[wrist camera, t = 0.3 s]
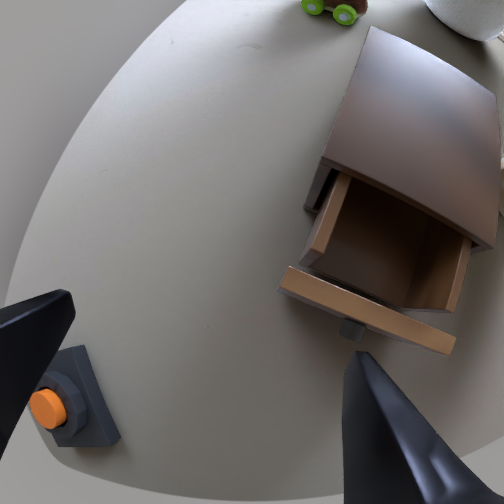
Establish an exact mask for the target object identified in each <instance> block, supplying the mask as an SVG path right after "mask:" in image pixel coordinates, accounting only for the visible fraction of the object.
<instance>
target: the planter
mask: <svg viewBox="0 0 504 504" xmlns="http://www.w3.org/2000/svg"><path fill="white" fill-rule="evenodd" d="M424 1H425V3H426V4H427V6H428V7H429V9H430V10H431V11H432V12H433V14H434V15H435V16H436V17H437V18H438V19H439V20H441V21H442V22H443V23H444V24H446V25H447V26H448V27H450V28H451V29H453V30H454V31H456V32H458V33H459V34H461V35H463V36H465V37H468V38H470V39H474V40H479V41H490V40H493V39H495V38H496V37H498V36H499V35H500V34H501V33H502V32H503V31H504V0H424Z"/></svg>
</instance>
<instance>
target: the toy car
mask: <svg viewBox="0 0 504 504" xmlns="http://www.w3.org/2000/svg"><path fill="white" fill-rule="evenodd" d="M301 6H302V8H303V10H304V11H305V12H307V13H309V14H311V15H318V14H320V13H321V12H322V11H323V10H324V9H325V10H328V11H331V12H333V17H334V19H335V20H336V21H337V22H338V23H340V24H342V25H350V24H352V23H353V22H354V21H355V19H356V18H357V17H360V16H363V15H364V14H365V13H366V11H367V8H368V2H367V0H302V2H301Z"/></svg>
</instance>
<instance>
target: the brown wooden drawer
mask: <svg viewBox="0 0 504 504" xmlns="http://www.w3.org/2000/svg"><path fill="white" fill-rule="evenodd" d="M471 245H472V240H471V239H469V238H468V237H466V236H464V235H463V234H461V233H459V232H458V231H456V230H454V229H453V228H451V227H449V226H448V225H446V224H444V223H443V222H441V221H439V220H437V219H436V218H434V217H432V216H430V215H428V214H427V213H425V212H423V211H421V210H419V209H417V208H416V207H414V206H412V205H410V204H408V203H406V202H404V201H402V200H400V199H398V198H396V197H394V196H392V195H390V194H388V193H386V192H384V191H382V190H380V189H378V188H376V187H374V186H372V185H370V184H368V183H365V182H363V181H361V180H359V179H357V178H354V177H352V176H350V175H348V174H346V173H343V172H341V171H339V170H336V169H335V170H334V173H333V175H332V178H331V181H330V183H329V186H328V189H327V191H326V194H325V197H324V199H323V202H322V204H321V207H320V209H319V212H318V215H317V217H316V220H315V222H314V225H313V227H312V230H311V232H310V235H309V237H308V239H307V242H306V244H305V247H304V249H303V252H302V254H301V257H300V259H299V261H298V264H299V265H301V266H304V267H306V268H308V269H311V270H313V271H315V272H318V273H320V274H322V275H325V276H327V277H329V278H332V279H334V280H336V281H339V282H341V283H343V284H345V285H348V286H350V287H352V288H355V289H357V290H359V291H362V292H364V293H366V294H369V295H371V296H373V297H375V298H378V299H380V300H382V301H385V302H387V303H389V304H392V305H394V306H396V307H398V308H401V309H403V310H406V311H419V312H436V313H455V309H456V306H457V303H458V299H459V296H460V292H461V289H462V285H463V281H464V277H465V273H466V269H467V264H468V260H469V255H470V250H471ZM276 290H277V291H279V292H281V293H283V294H286V295H288V296H290V297H293V298H295V299H297V300H300V301H302V302H304V303H307V304H309V305H312V306H314V307H316V308H319V309H321V310H324V311H326V312H328V313H331V314H333V315H336V316H338V317H340V318H343V319H344V321H343V324H342V326H341V328H340V331H339V333H338V334H339V335H340V336H343V337H345V338H347V339H350V340H352V341H355V342H358V343H359V342H360V341H361V339H362V336H363V334H364V332H365V329H366V328H367V329H370V330H372V331H375V332H377V333H380V334H382V335H385V336H387V337H390V338H392V339H395V340H398V341H400V342H403V343H407V344H410V345H413V346H416V347H420V348H423V349H426V350H430V351H433V352H436V353H440V354H443V355H447V356H450V354H451V352H452V349H453V346H454V343H455V341H456V337H454V336H451V335H449V334H447V333H444V332H442V331H440V330H437V329H435V328H433V327H431V326H428V325H426V324H424V323H421V322H419V321H417V320H414V319H412V318H410V317H407V316H405V315H403V314H400V313H398V312H396V311H393V310H391V309H389V308H386V307H384V306H382V305H379V304H377V303H375V302H373V301H370V300H368V299H366V298H363V297H361V296H359V295H356V294H354V293H352V292H349V291H347V290H345V289H342V288H340V287H338V286H335V285H333V284H331V283H328V282H326V281H324V280H321V279H319V278H317V277H314V276H312V275H310V274H307V273H305V272H303V271H300V270H298V269H296V268H293V267H291V266H288V268H287V269H286V271H285V273H284V274H283V276H282V278H281V280H280V282H279V285H278V287H277V289H276Z"/></svg>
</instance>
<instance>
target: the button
mask: <svg viewBox="0 0 504 504" xmlns="http://www.w3.org/2000/svg"><path fill="white" fill-rule="evenodd" d="M30 407H31V410H32V413H33V415H34V417H35V418H36V420H37V421H38V422H39V423H40V424H41V425H42V426H43V427H45V428H48V429H53V428H55V427H57V426H59V425H61V424H62V423H64V422H65V421H66V419H67V410H66V407H65V405H64V403H63V400H62V399H61V398H60V397H59V395H58V394H57V393H56V392H55V391H53V390H51V389H44V390H41V391H38V392H35V393H33V394H32V396H31V398H30Z"/></svg>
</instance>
